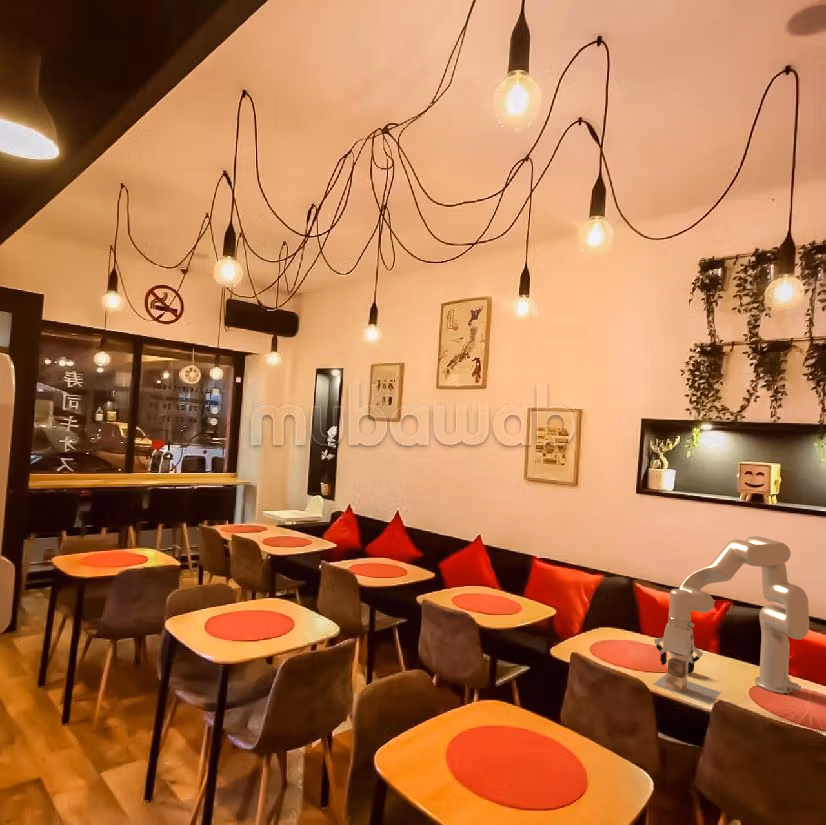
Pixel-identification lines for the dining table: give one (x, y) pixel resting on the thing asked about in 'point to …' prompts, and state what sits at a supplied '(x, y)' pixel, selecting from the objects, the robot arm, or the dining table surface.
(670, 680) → the maple block
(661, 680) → the slate board
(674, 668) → the walnut block
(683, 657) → the teacup with lid
